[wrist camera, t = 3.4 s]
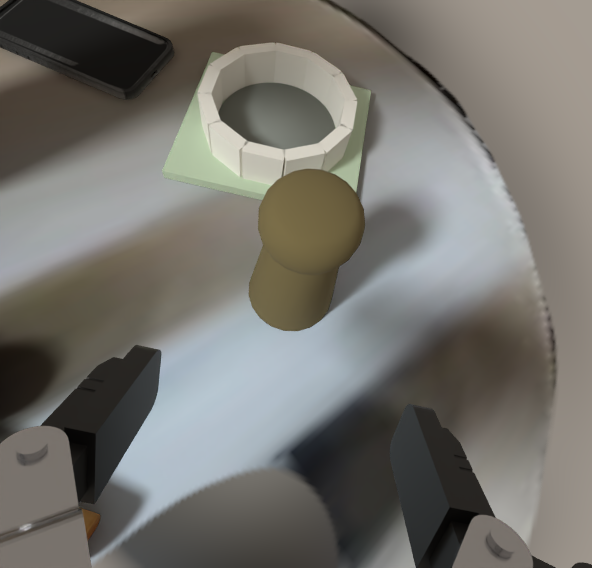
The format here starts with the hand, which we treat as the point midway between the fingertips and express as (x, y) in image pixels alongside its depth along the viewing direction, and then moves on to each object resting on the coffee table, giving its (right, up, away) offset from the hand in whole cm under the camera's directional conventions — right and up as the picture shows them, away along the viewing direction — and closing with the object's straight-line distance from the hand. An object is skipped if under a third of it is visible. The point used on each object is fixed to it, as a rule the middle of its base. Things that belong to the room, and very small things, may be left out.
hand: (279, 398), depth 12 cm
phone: (-19, +25, +22) cm, 38 cm away
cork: (0, +3, +15) cm, 15 cm away
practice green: (-1, +17, +20) cm, 26 cm away
